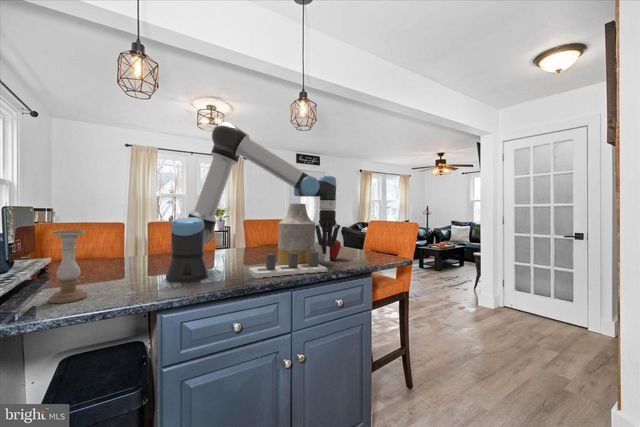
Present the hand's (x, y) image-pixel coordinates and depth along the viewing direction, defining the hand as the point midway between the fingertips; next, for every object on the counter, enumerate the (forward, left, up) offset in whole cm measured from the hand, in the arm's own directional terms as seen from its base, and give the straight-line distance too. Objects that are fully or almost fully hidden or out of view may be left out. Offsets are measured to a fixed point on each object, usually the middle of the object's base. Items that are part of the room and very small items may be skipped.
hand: (326, 260), depth 137 cm
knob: (-5, -5, -2) cm, 7 cm away
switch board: (-13, -13, -4) cm, 19 cm away
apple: (-6, +25, -4) cm, 26 cm away
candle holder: (-56, -73, -4) cm, 92 cm away
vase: (-18, +6, -4) cm, 20 cm away
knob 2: (-12, -12, -2) cm, 17 cm away
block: (-19, -19, -2) cm, 27 cm away
